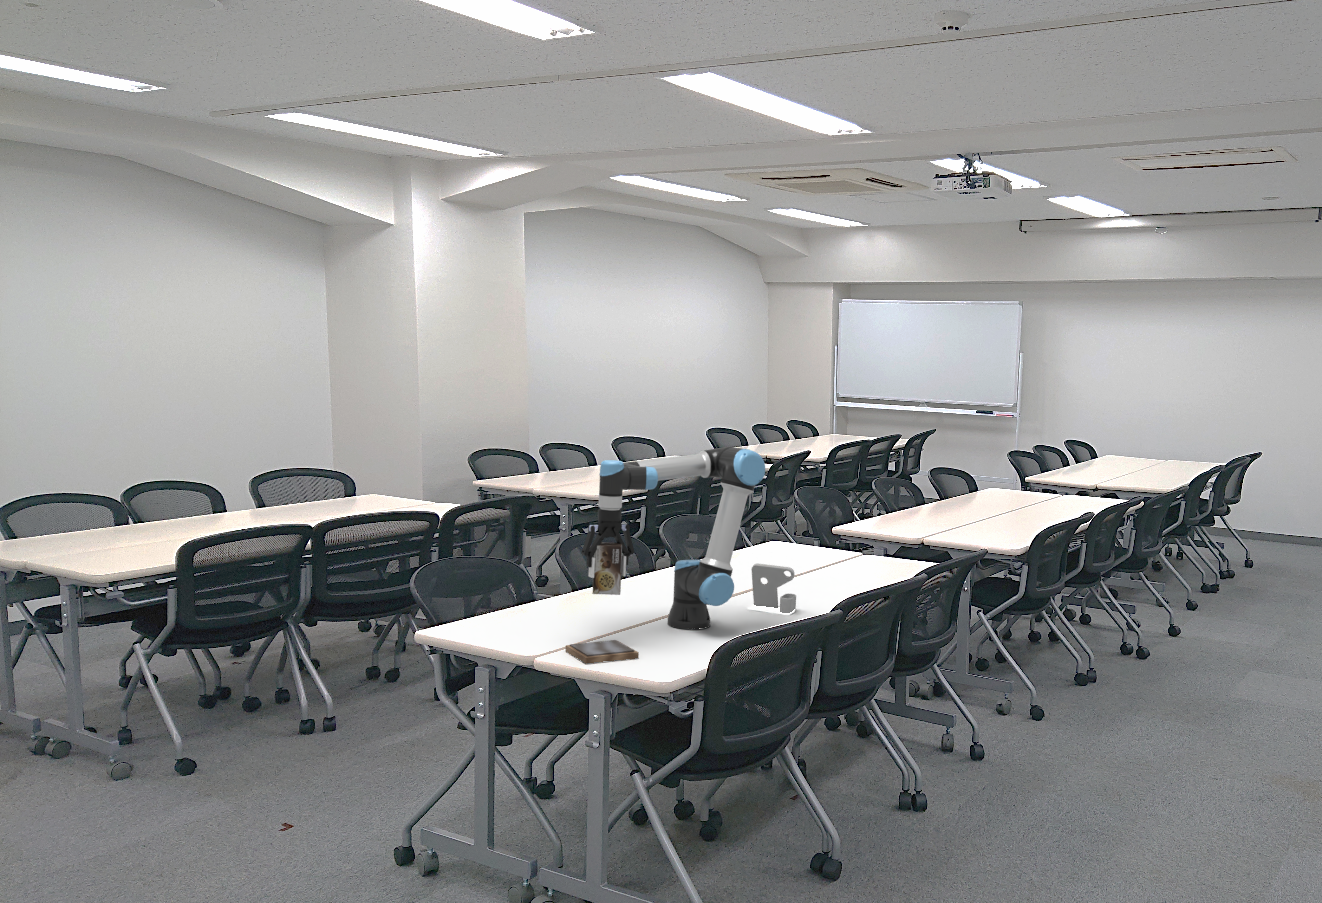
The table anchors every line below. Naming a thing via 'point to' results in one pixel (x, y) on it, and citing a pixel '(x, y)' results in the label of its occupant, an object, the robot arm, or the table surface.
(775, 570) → the grey bracket with cup
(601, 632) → the table surface
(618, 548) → the coffee box
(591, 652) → the tray
